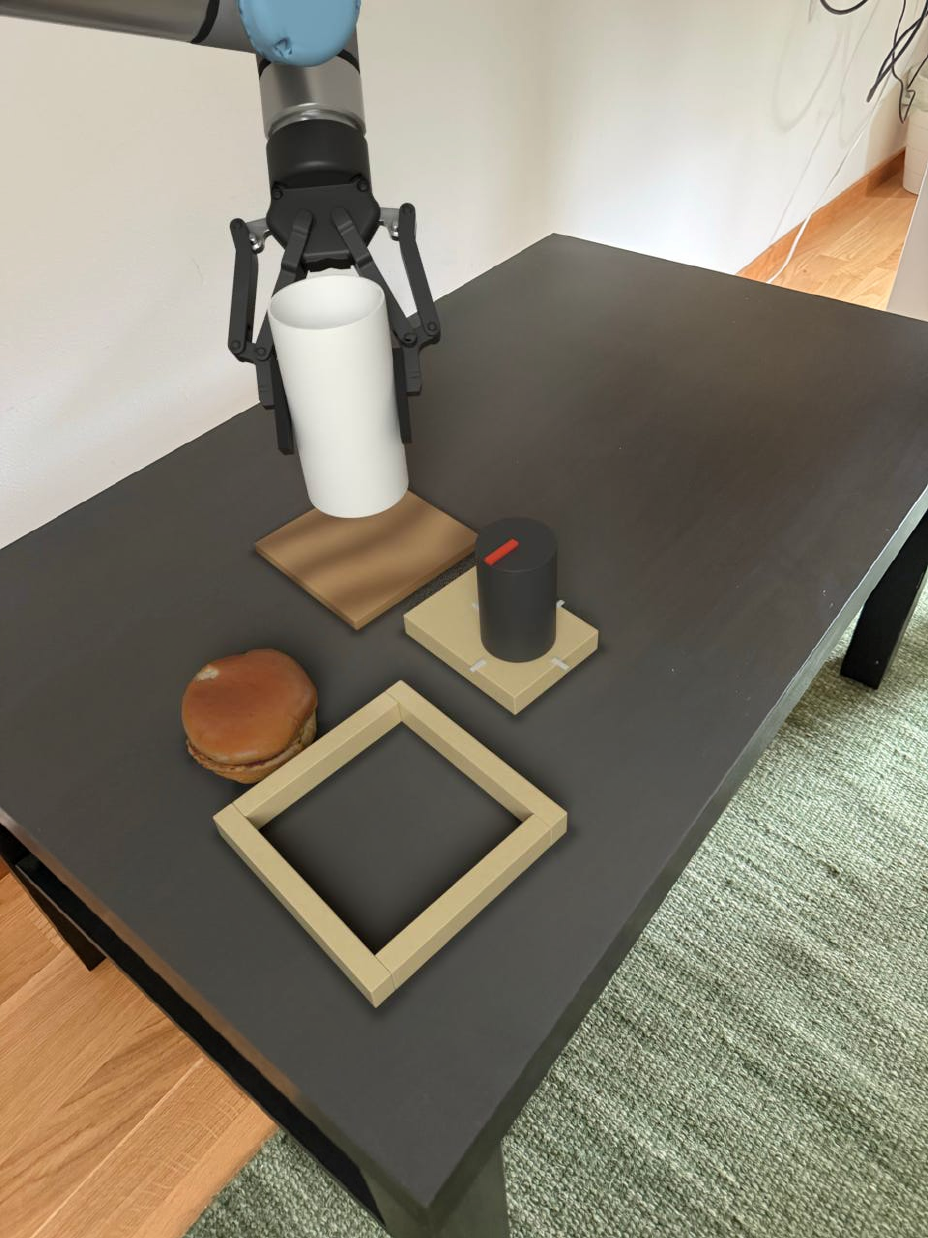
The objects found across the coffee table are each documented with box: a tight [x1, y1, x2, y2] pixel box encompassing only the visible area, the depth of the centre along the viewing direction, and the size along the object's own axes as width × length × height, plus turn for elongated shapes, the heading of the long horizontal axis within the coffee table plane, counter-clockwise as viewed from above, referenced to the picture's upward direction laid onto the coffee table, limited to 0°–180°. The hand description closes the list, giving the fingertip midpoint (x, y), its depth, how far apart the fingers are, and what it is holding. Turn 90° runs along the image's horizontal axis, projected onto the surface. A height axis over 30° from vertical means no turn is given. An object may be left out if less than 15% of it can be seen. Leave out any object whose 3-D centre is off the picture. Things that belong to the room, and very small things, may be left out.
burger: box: [181, 648, 319, 784], centre depth 65 cm, size 10×9×5 cm
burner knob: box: [474, 517, 559, 663], centre depth 66 cm, size 6×6×9 cm
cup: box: [266, 273, 409, 518], centre depth 70 cm, size 8×8×16 cm
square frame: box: [212, 679, 568, 1008], centre depth 59 cm, size 16×16×2 cm
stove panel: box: [402, 565, 599, 716], centre depth 71 cm, size 13×10×2 cm
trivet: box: [254, 489, 479, 631], centre depth 80 cm, size 14×14×1 cm
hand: (346, 445), depth 69 cm, fingers closed on cup, 8 cm apart
